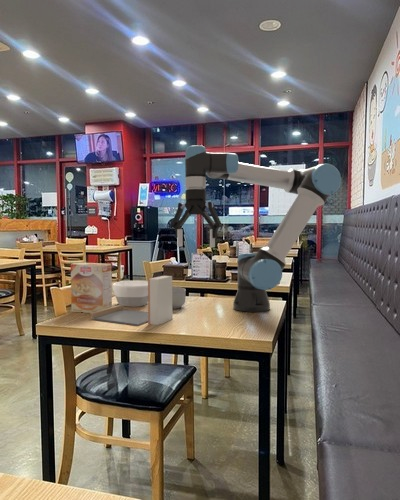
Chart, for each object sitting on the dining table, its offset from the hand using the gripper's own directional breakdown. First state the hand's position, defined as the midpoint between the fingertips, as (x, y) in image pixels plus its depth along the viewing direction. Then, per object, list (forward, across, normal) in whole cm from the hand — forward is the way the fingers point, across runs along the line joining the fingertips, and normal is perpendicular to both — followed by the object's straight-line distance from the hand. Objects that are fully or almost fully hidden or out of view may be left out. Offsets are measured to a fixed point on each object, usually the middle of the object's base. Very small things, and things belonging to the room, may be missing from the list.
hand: (195, 247), depth 148 cm
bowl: (+27, +37, -11) cm, 47 cm away
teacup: (+27, +19, -12) cm, 35 cm away
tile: (+27, +9, +10) cm, 30 cm away
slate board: (+27, +22, +11) cm, 36 cm away
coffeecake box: (+27, +43, +9) cm, 51 cm away
